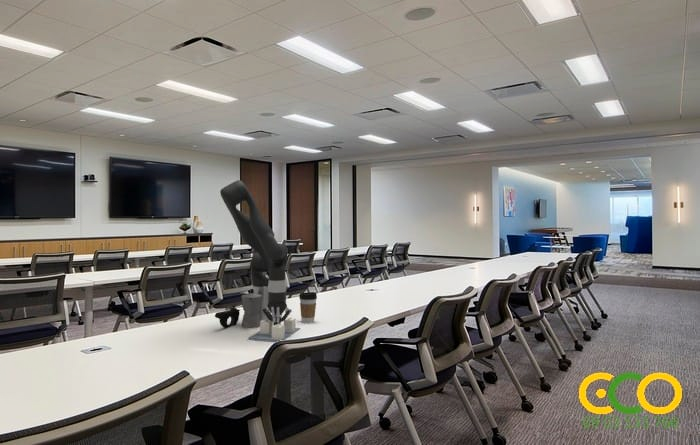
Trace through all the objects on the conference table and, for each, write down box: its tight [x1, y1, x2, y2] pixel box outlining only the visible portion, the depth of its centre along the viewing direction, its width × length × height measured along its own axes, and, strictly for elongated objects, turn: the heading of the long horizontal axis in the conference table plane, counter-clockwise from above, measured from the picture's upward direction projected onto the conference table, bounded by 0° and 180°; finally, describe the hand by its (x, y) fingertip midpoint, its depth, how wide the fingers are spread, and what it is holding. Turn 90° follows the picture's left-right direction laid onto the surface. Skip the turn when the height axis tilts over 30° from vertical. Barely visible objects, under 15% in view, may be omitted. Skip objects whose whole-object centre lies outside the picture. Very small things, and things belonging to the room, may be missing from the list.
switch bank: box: [246, 327, 301, 343], centre depth 189 cm, size 14×24×2 cm, turn 167°
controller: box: [214, 304, 241, 329], centre depth 202 cm, size 4×12×10 cm, turn 145°
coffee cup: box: [299, 291, 318, 324], centre depth 213 cm, size 8×8×15 cm
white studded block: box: [283, 316, 297, 331], centre depth 194 cm, size 4×4×6 cm
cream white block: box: [259, 319, 273, 334], centre depth 190 cm, size 4×4×6 cm
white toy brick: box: [272, 323, 285, 339], centre depth 182 cm, size 4×4×6 cm
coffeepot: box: [241, 288, 262, 329], centre depth 203 cm, size 15×9×18 cm, turn 8°
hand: (277, 330), depth 189 cm, fingers closed
